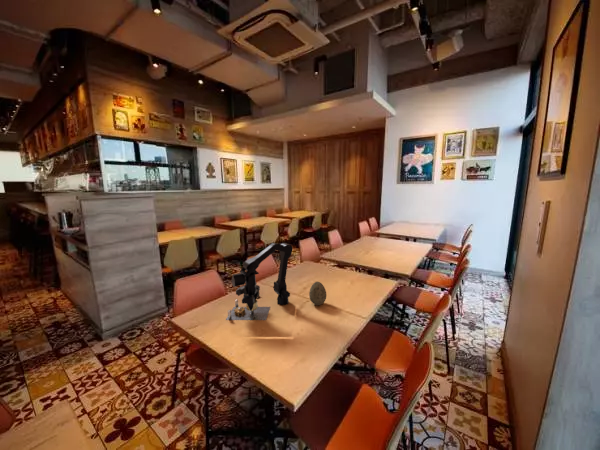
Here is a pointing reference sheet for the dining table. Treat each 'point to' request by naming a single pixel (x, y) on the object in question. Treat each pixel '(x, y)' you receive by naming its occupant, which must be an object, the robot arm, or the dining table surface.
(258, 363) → the dining table surface
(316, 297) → the decorative egg
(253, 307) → the hollow octagonal tube
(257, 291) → the grey rock
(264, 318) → the carrier
